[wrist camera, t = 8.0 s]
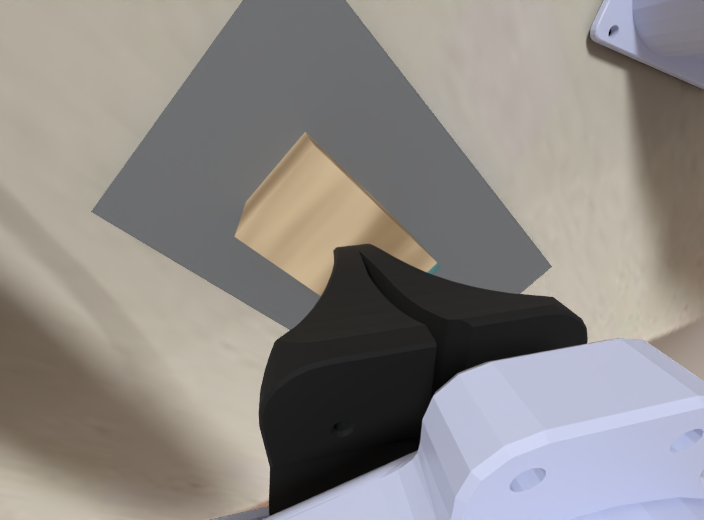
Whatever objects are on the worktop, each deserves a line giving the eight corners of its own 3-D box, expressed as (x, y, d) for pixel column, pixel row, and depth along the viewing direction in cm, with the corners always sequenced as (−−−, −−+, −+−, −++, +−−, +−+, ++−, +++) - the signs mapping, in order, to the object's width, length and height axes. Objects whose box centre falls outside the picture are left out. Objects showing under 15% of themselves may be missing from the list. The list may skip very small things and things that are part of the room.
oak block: (441, 266, 14) (313, 144, 11) (371, 331, 15) (234, 236, 12) (407, 230, 18) (305, 131, 15) (353, 283, 19) (245, 201, 16)
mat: (546, 263, 22) (551, 266, 21) (397, 389, 25) (399, 395, 24) (292, -63, 12) (292, -68, 12) (96, 208, 15) (91, 211, 15)
